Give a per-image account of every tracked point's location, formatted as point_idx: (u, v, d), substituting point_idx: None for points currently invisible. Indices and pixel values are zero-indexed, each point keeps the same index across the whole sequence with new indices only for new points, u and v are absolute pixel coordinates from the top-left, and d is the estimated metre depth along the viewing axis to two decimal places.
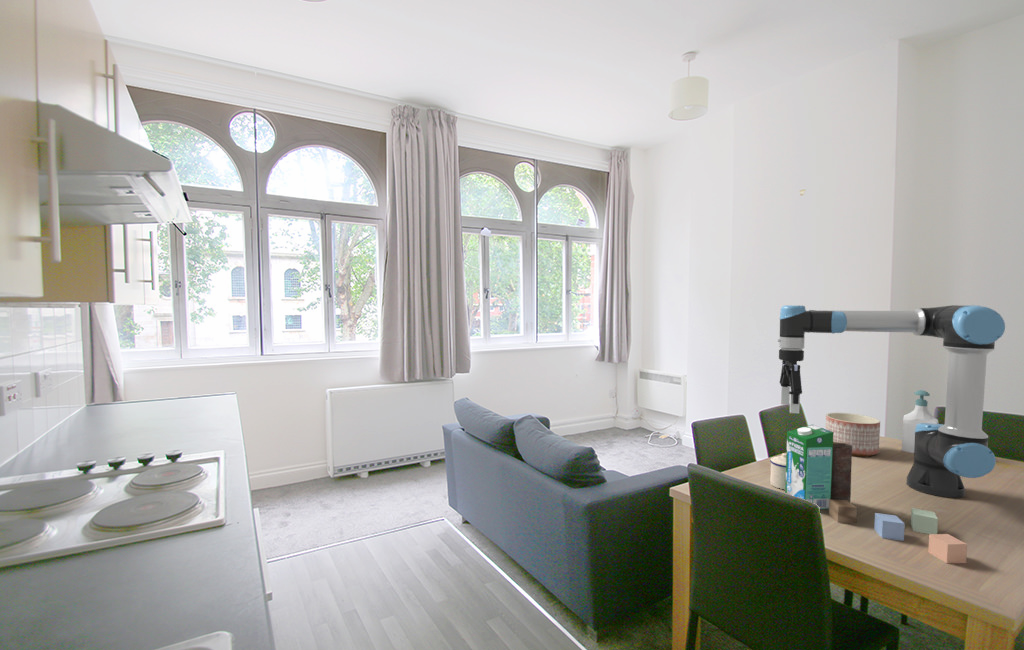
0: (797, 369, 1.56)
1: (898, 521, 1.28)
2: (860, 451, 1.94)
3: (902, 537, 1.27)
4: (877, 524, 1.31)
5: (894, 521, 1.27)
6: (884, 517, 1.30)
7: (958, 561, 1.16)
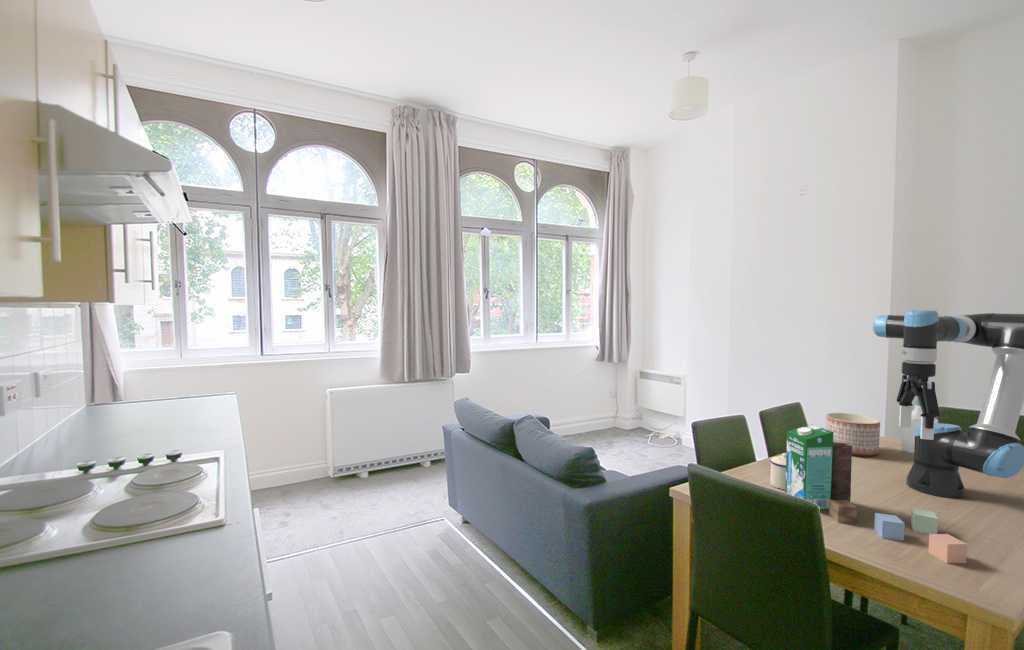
0: (931, 387, 1.30)
1: (898, 521, 1.28)
2: (860, 451, 1.94)
3: (902, 537, 1.27)
4: (877, 524, 1.31)
5: (894, 521, 1.27)
6: (884, 517, 1.30)
7: (958, 561, 1.16)
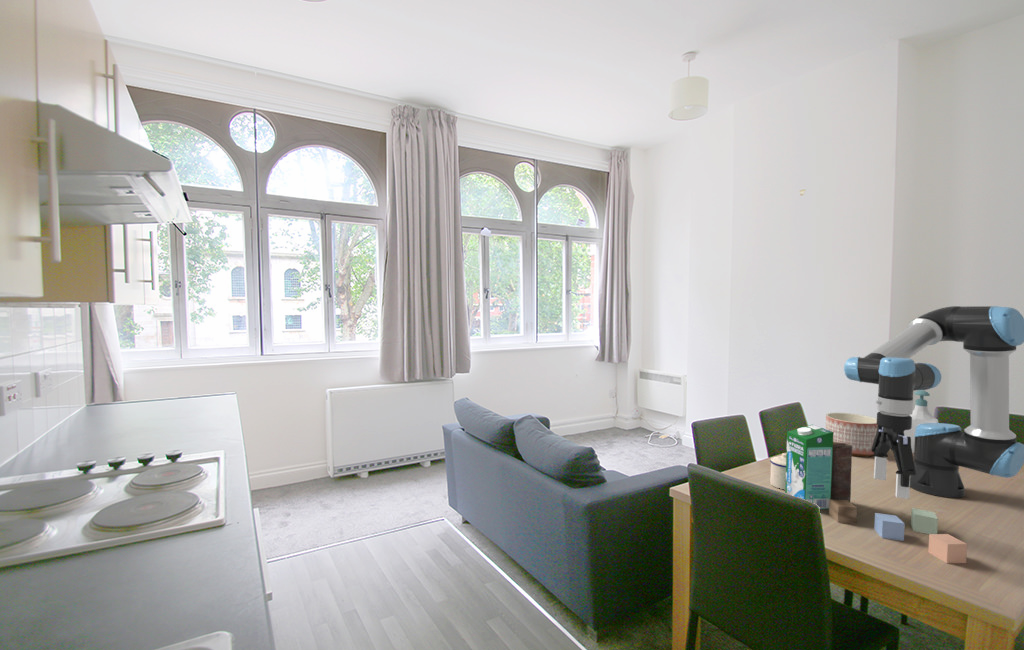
0: (907, 442, 1.22)
1: (898, 521, 1.28)
2: (860, 451, 1.94)
3: (902, 537, 1.27)
4: (877, 524, 1.31)
5: (894, 521, 1.27)
6: (884, 517, 1.30)
7: (958, 561, 1.16)
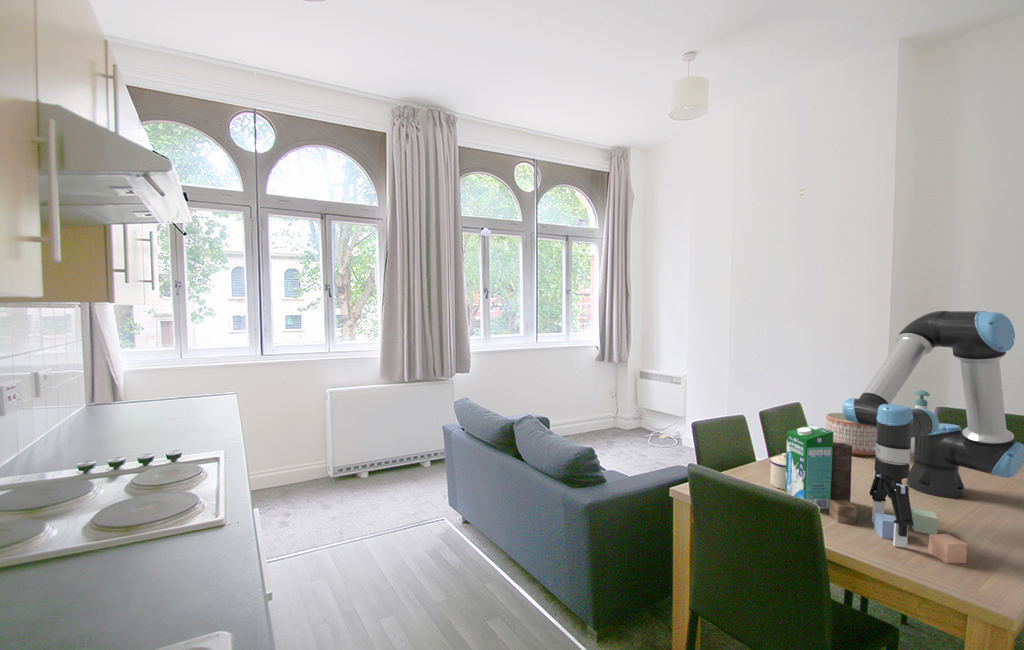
0: (905, 492, 1.22)
1: None
2: (860, 451, 1.94)
3: None
4: (877, 524, 1.31)
5: None
6: (884, 517, 1.30)
7: (958, 561, 1.16)
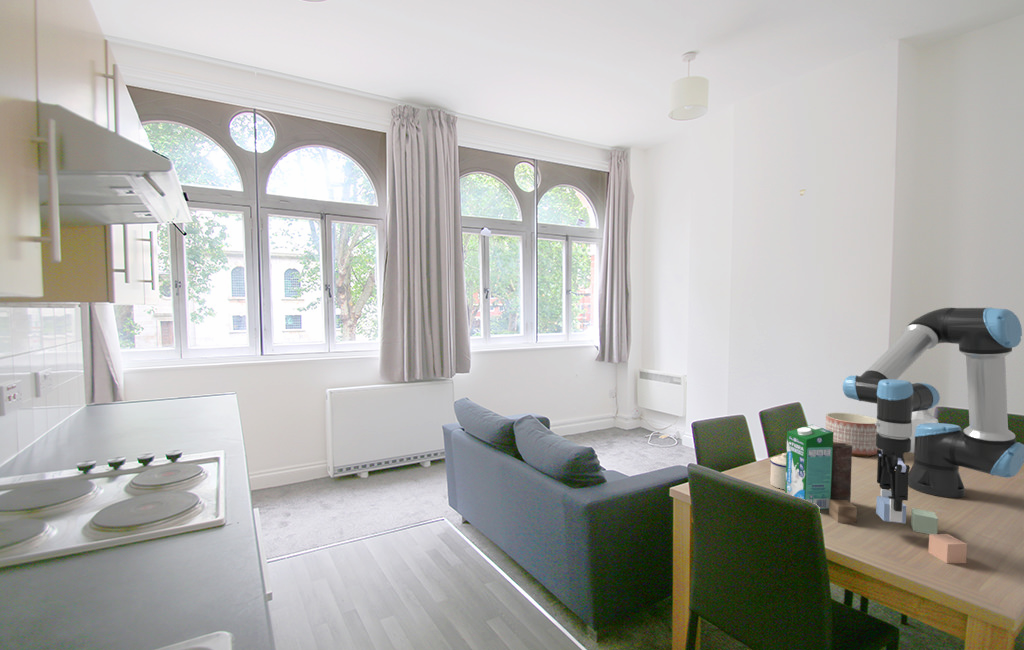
0: (905, 471, 1.23)
1: None
2: (860, 451, 1.94)
3: (904, 519, 1.27)
4: (879, 507, 1.31)
5: None
6: (886, 500, 1.30)
7: (958, 561, 1.16)
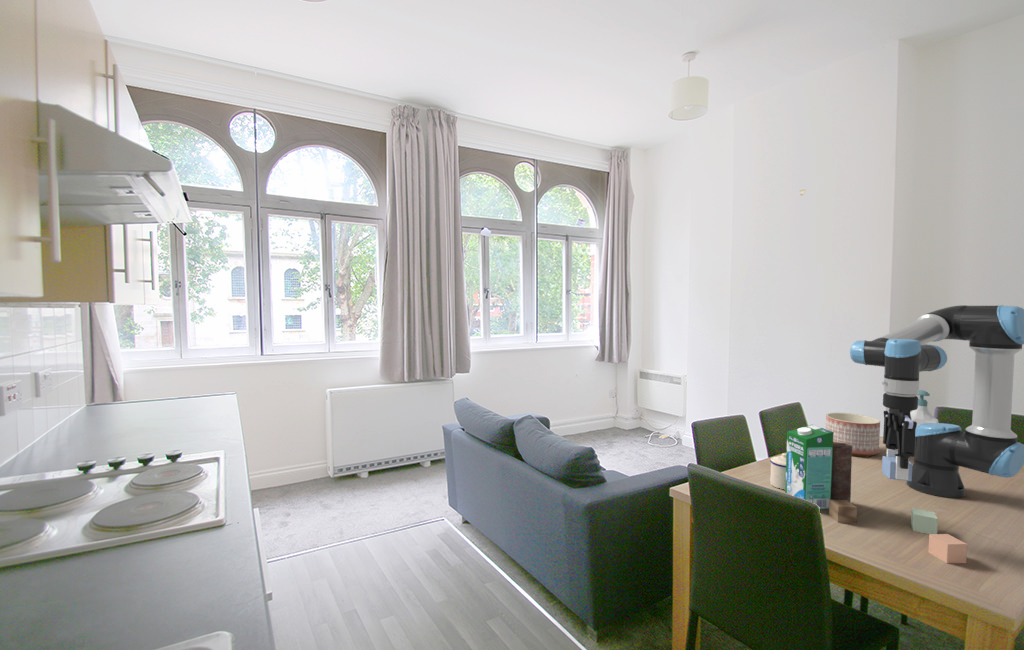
0: (912, 427, 1.23)
1: None
2: (860, 451, 1.94)
3: (910, 477, 1.27)
4: (885, 466, 1.31)
5: None
6: (892, 459, 1.30)
7: (958, 561, 1.16)
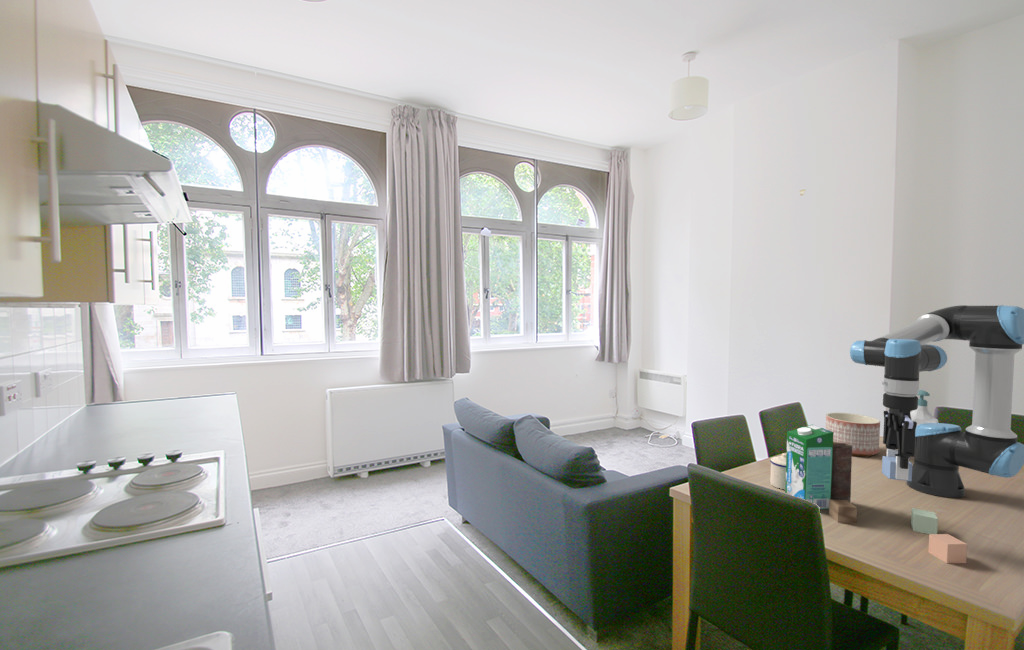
0: (912, 427, 1.23)
1: None
2: (860, 451, 1.94)
3: (910, 477, 1.27)
4: (885, 466, 1.31)
5: None
6: (892, 459, 1.30)
7: (958, 561, 1.16)
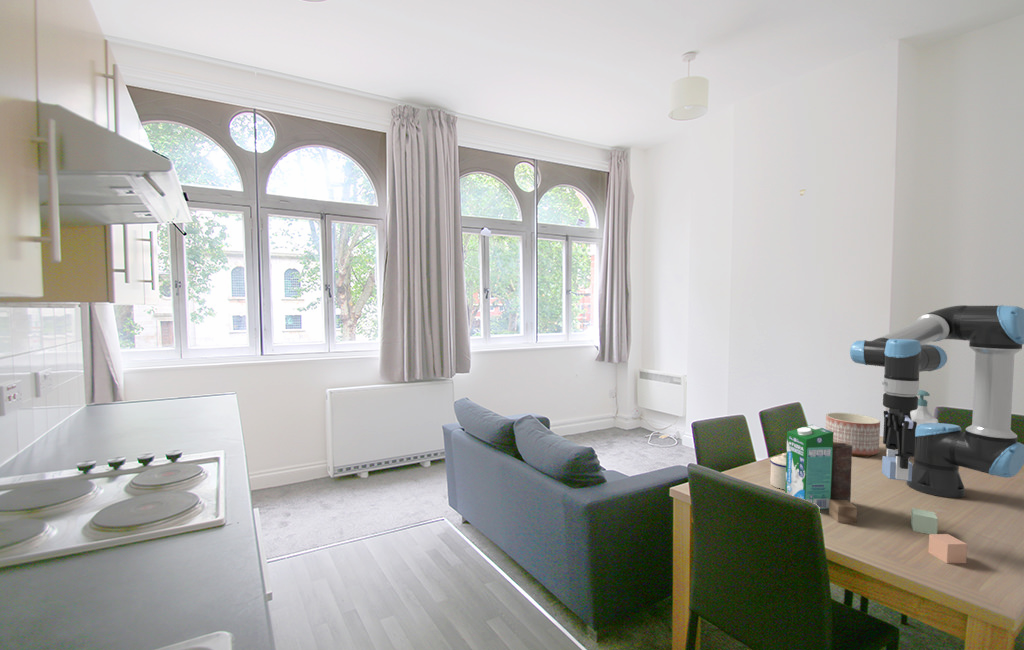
0: (912, 427, 1.23)
1: None
2: (860, 451, 1.94)
3: (910, 477, 1.27)
4: (885, 466, 1.31)
5: None
6: (892, 459, 1.30)
7: (958, 561, 1.16)
